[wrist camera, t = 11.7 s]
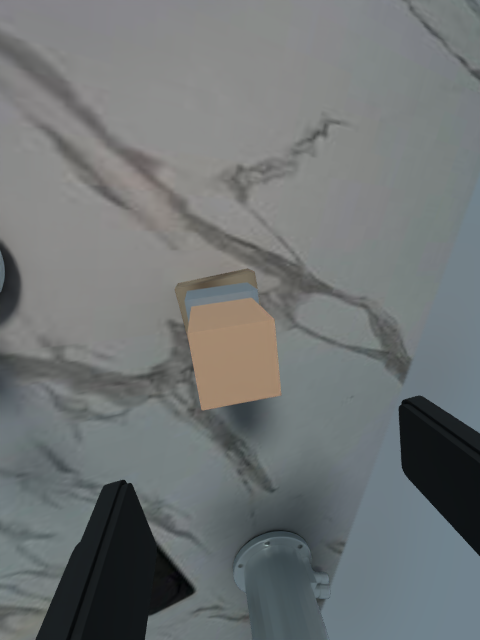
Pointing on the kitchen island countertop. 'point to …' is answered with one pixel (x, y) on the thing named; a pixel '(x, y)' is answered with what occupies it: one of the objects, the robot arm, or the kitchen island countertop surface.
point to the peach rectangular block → (233, 353)
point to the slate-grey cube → (219, 295)
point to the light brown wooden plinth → (212, 281)
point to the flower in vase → (1, 271)
